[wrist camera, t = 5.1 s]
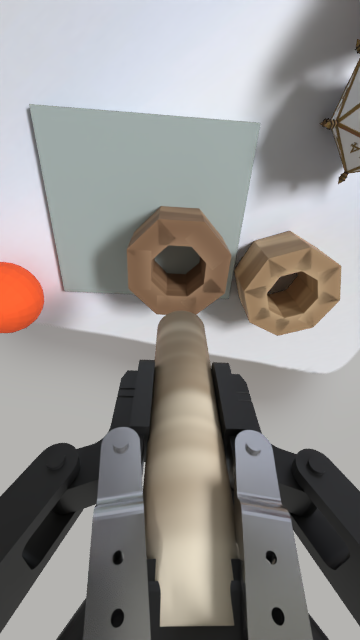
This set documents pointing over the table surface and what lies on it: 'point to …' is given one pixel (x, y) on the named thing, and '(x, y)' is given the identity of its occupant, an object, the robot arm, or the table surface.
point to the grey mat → (137, 185)
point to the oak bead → (300, 297)
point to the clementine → (18, 298)
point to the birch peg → (188, 482)
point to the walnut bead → (177, 289)
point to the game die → (348, 124)
